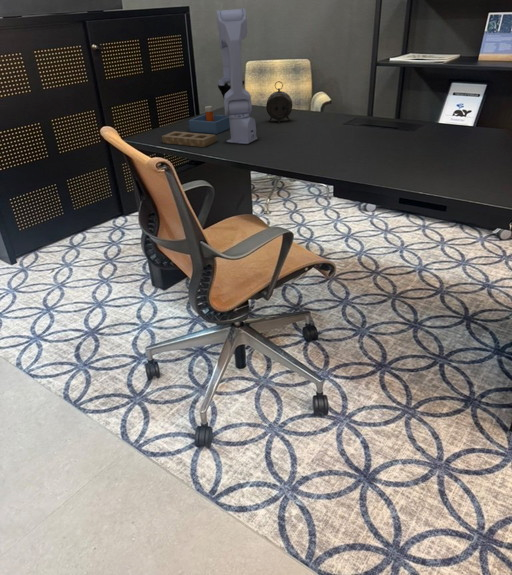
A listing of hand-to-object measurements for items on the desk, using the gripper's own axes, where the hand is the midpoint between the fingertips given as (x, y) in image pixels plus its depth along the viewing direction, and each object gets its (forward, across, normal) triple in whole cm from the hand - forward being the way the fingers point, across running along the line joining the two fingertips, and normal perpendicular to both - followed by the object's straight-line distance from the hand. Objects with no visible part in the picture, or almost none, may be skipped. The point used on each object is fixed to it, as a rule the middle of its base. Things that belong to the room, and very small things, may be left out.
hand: (232, 101), depth 206 cm
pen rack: (+10, +26, -4) cm, 28 cm away
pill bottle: (+10, +6, -8) cm, 14 cm away
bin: (+10, +6, -8) cm, 14 cm away
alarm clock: (+11, -14, +14) cm, 22 cm away
